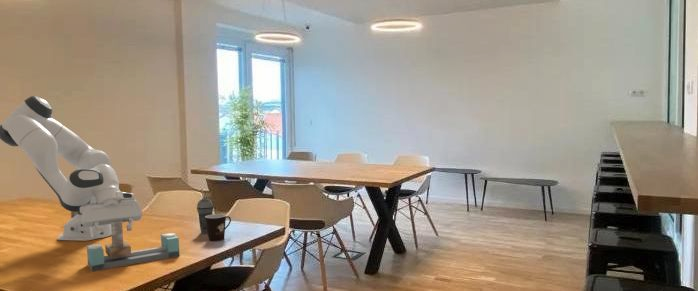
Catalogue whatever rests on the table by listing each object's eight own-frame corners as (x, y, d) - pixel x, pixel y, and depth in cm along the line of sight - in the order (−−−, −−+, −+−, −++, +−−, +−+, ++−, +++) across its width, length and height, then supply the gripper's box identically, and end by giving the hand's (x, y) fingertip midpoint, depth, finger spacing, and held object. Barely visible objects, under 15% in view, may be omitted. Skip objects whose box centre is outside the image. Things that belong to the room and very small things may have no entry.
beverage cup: (209, 234, 227) (207, 190, 225) (194, 234, 228) (192, 189, 227) (217, 230, 234) (215, 187, 232) (202, 230, 235) (200, 187, 234)
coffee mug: (208, 242, 213) (207, 219, 212) (204, 238, 220) (203, 215, 220) (236, 239, 218) (235, 215, 217) (231, 234, 226) (230, 212, 225)
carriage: (110, 258, 181) (108, 226, 180) (105, 252, 188) (103, 221, 187) (131, 254, 185) (129, 223, 184) (126, 249, 192) (124, 219, 191)
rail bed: (91, 271, 177) (90, 250, 176) (87, 264, 185) (86, 244, 185) (180, 255, 194) (179, 236, 194) (172, 250, 202) (171, 231, 202)
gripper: (79, 199, 185) (84, 231, 178) (138, 193, 197) (145, 222, 189) (78, 209, 189) (83, 241, 182) (136, 203, 201) (143, 232, 193)
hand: (115, 231), depth 186 cm, fingers open, 8 cm apart
